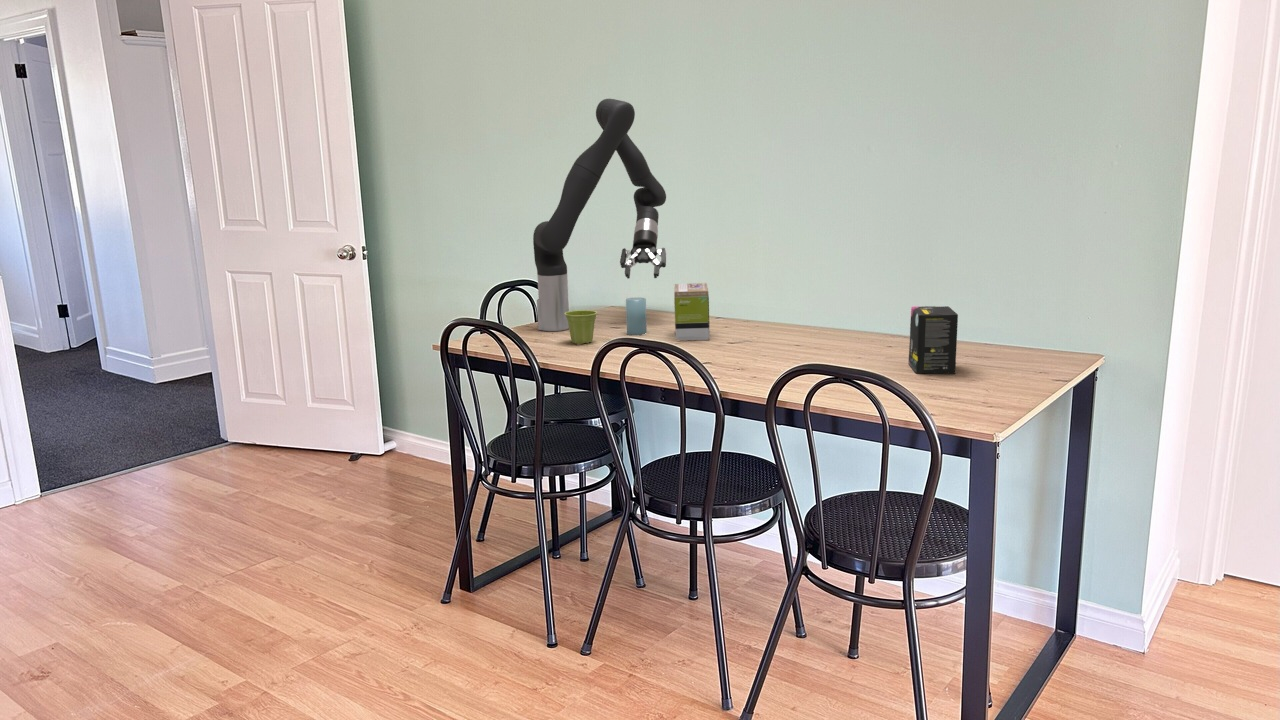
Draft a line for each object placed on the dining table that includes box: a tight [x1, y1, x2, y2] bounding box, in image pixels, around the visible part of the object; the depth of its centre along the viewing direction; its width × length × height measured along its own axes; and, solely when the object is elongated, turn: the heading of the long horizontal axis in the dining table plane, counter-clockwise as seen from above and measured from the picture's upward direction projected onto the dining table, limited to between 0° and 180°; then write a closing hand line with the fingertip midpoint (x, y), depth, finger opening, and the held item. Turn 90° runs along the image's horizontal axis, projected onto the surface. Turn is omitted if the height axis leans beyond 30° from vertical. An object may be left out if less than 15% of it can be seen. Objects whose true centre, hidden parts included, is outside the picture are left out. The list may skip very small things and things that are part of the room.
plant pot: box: [565, 309, 598, 345], centre depth 265 cm, size 9×9×9 cm
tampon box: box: [908, 305, 959, 375], centre depth 221 cm, size 11×9×15 cm
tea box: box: [673, 282, 710, 341], centre depth 269 cm, size 15×10×15 cm
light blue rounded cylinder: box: [625, 297, 648, 336], centre depth 275 cm, size 6×6×10 cm
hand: (641, 276), depth 284 cm, fingers open, 8 cm apart
